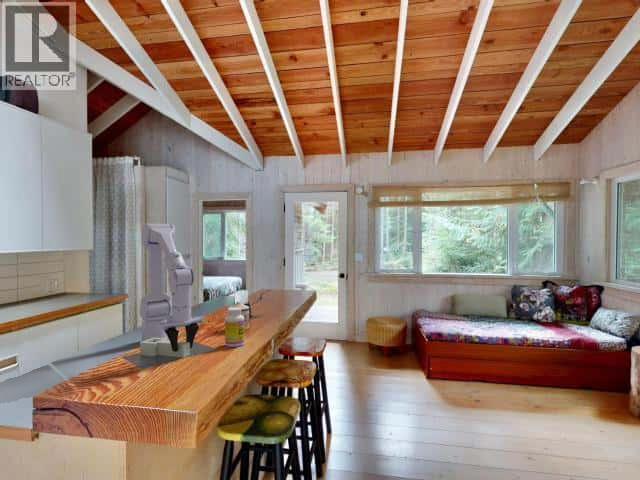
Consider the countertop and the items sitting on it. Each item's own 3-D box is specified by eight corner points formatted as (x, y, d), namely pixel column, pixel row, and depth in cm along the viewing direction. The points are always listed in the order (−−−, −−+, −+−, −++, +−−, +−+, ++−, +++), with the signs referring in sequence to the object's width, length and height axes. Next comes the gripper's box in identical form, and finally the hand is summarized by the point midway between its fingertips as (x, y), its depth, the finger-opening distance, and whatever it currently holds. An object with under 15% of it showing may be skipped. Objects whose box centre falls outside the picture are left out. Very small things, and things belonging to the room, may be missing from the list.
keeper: (180, 352, 117) (180, 334, 117) (186, 347, 123) (186, 329, 123) (185, 352, 117) (185, 333, 117) (191, 347, 123) (191, 329, 124)
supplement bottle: (239, 348, 122) (239, 310, 122) (222, 347, 123) (221, 310, 123) (247, 342, 128) (246, 307, 128) (230, 341, 129) (230, 306, 130)
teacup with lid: (246, 331, 145) (246, 303, 145) (224, 331, 145) (224, 303, 145) (253, 325, 156) (253, 298, 157) (233, 325, 157) (233, 298, 157)
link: (140, 354, 114) (140, 342, 114) (154, 349, 120) (154, 337, 120) (180, 359, 109) (180, 346, 109) (193, 353, 114) (193, 340, 114)
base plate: (121, 358, 112) (121, 356, 112) (192, 342, 130) (192, 340, 130) (142, 370, 101) (142, 368, 101) (217, 350, 119) (217, 349, 119)
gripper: (164, 311, 104) (165, 357, 104) (208, 304, 115) (209, 346, 115) (154, 308, 109) (154, 352, 109) (197, 302, 120) (198, 342, 120)
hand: (182, 349), depth 112 cm, fingers closed on link, 4 cm apart
